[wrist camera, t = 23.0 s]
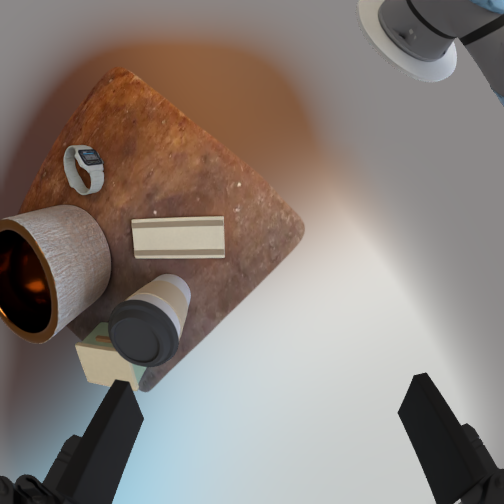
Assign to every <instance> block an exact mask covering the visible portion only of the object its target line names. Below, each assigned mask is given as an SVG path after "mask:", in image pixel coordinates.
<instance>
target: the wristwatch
mask: <svg viewBox="0 0 504 504" xmlns="http://www.w3.org/2000/svg"><path fill="white" fill-rule="evenodd" d="M74 158H76V159H77V161H78V163H79V165H80V167H83V168H84V169H85V170H87V171H88V173H90V177H91V187H90V189H87V188H86V186H85V185H84V183H83V181H82V179H81V177H80V176H79V175H78V172H77V170H76V166H75V159H74ZM64 169H65V173H66V176H67V178H68V182H69V184H70V186H71V187H74V189H75V190H76V191H77V192H78V193H79V194H82V195H87V194H91V193H96V192H98V191H99V190H100V189H101V187H102V185H103V182H104V173H103V172H102V171H103V161H102V159H101V158H100V156H99V154H98V153H97V152H96V151H95V150H94V149H92V148H91V147H88V146H86V145H75V146H69V147H68V148H67V149H66V151H65V154H64Z"/></svg>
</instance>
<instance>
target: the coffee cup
mask: <svg viewBox="0 0 504 504" xmlns="http://www.w3.org/2000/svg"><path fill="white" fill-rule="evenodd" d="M190 298H191V294H190V289H189V287H188V285H187V284H186V282H185V281H184V280H183V279H181V278H180V277H178V276H176V275H173V274H163V275H160V276H158V277H157V278H155V279H154V280H153V281H151V282H150V283H148V284H146V285H145V286H143V287H142V288H141V289H139V290H138V291H136V292H135V293H134V294H132V295H131V296H130V297H128V298H127V299H126V300H125V301H124V302H122V303H120V304H118V305H117V306H116V307H115V308H114V310H113V311H112V313H111V316H110V319H109V323H108V334H109V338H110V340H111V343H112V345H113V346H114V348H115V349H116V351H117V352H118V353H119V355H120V356H121V357H122V358H124V359H125V360H126V361H128V362H130V363H132V364H134V365H138V366H143V367H155V366H159V365H161V364H163V363H165V362H167V361H168V360H170V359H171V358H172V357H173V356H174V355H175V353H176V351H177V349H178V344H179V340H180V337H181V334H182V330H183V327H184V323H185V319H186V316H187V312H188V306H189V303H190Z"/></svg>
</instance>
